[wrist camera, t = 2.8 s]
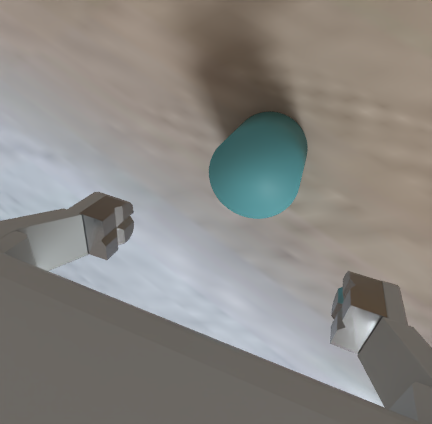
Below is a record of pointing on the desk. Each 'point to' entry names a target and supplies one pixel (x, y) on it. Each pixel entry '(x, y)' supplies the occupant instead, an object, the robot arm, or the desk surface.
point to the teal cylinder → (259, 165)
